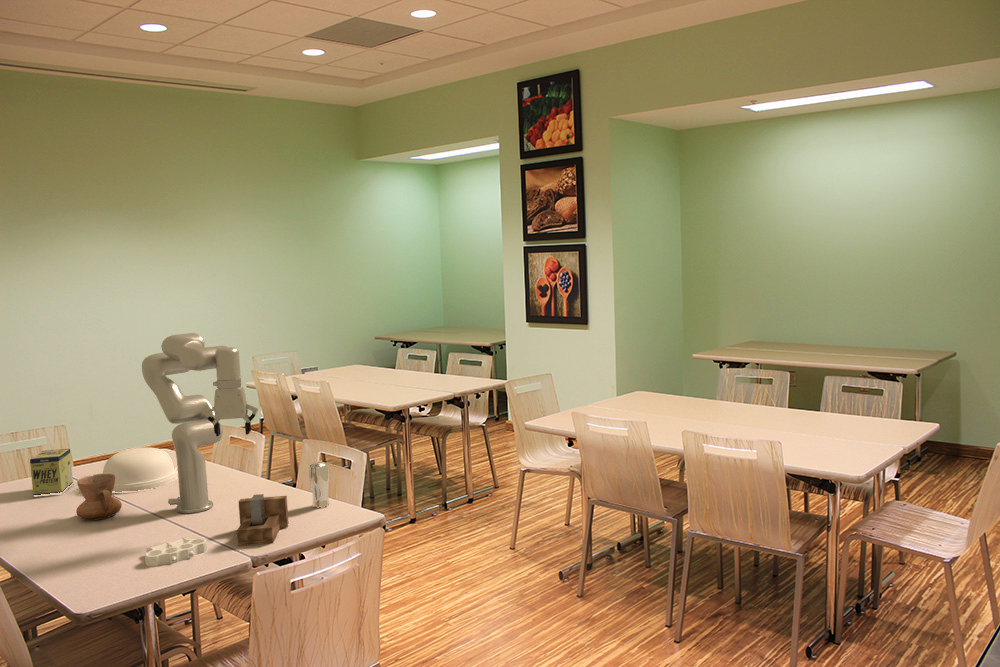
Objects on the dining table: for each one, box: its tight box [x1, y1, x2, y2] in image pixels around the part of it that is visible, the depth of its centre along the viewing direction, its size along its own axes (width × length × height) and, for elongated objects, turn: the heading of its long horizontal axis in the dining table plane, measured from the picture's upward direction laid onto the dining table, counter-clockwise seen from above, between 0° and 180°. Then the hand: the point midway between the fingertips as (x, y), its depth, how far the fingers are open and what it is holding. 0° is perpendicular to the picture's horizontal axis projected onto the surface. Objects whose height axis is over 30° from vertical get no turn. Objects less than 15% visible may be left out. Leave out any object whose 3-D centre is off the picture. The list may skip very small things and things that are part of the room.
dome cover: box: [102, 446, 178, 492], centre depth 323 cm, size 32×30×14 cm
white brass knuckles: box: [144, 537, 208, 568], centre depth 239 cm, size 3×18×15 cm
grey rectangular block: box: [250, 493, 265, 526], centre depth 252 cm, size 3×6×12 cm, turn 6°
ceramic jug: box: [76, 472, 123, 521], centre depth 280 cm, size 18×14×14 cm
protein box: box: [29, 448, 74, 495], centre depth 316 cm, size 10×16×16 cm
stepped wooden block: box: [236, 495, 290, 547], centre depth 253 cm, size 15×17×10 cm
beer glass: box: [308, 462, 331, 508], centre depth 282 cm, size 7×7×15 cm
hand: (233, 434), depth 265 cm, fingers open, 9 cm apart
